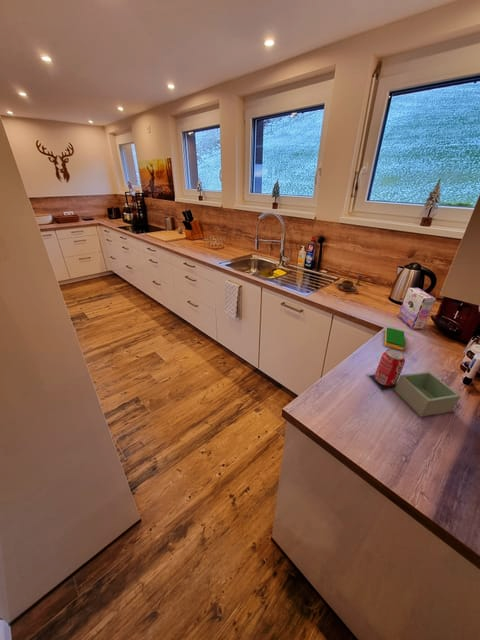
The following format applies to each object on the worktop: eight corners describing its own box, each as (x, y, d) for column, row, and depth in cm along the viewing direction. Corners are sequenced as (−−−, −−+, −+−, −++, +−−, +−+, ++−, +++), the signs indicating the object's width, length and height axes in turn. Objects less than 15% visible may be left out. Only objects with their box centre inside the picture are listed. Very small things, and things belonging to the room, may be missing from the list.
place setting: (331, 284, 178) (333, 276, 175) (358, 283, 181) (360, 275, 178) (344, 294, 163) (347, 285, 160) (373, 293, 166) (376, 284, 163)
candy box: (423, 329, 127) (437, 298, 119) (411, 329, 127) (424, 298, 119) (408, 316, 139) (419, 287, 131) (397, 315, 139) (407, 286, 131)
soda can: (395, 378, 95) (406, 351, 89) (396, 390, 89) (408, 362, 83) (373, 372, 97) (383, 345, 91) (373, 384, 92) (383, 356, 86)
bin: (422, 385, 92) (429, 371, 89) (451, 411, 82) (461, 396, 79) (393, 389, 90) (400, 375, 87) (420, 416, 80) (428, 401, 77)
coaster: (385, 374, 97) (386, 373, 97) (399, 387, 91) (399, 386, 91) (369, 376, 96) (369, 375, 96) (381, 389, 90) (382, 389, 90)
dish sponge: (402, 335, 122) (404, 331, 121) (403, 350, 111) (405, 346, 110) (385, 331, 125) (387, 327, 123) (384, 345, 114) (386, 341, 113)
